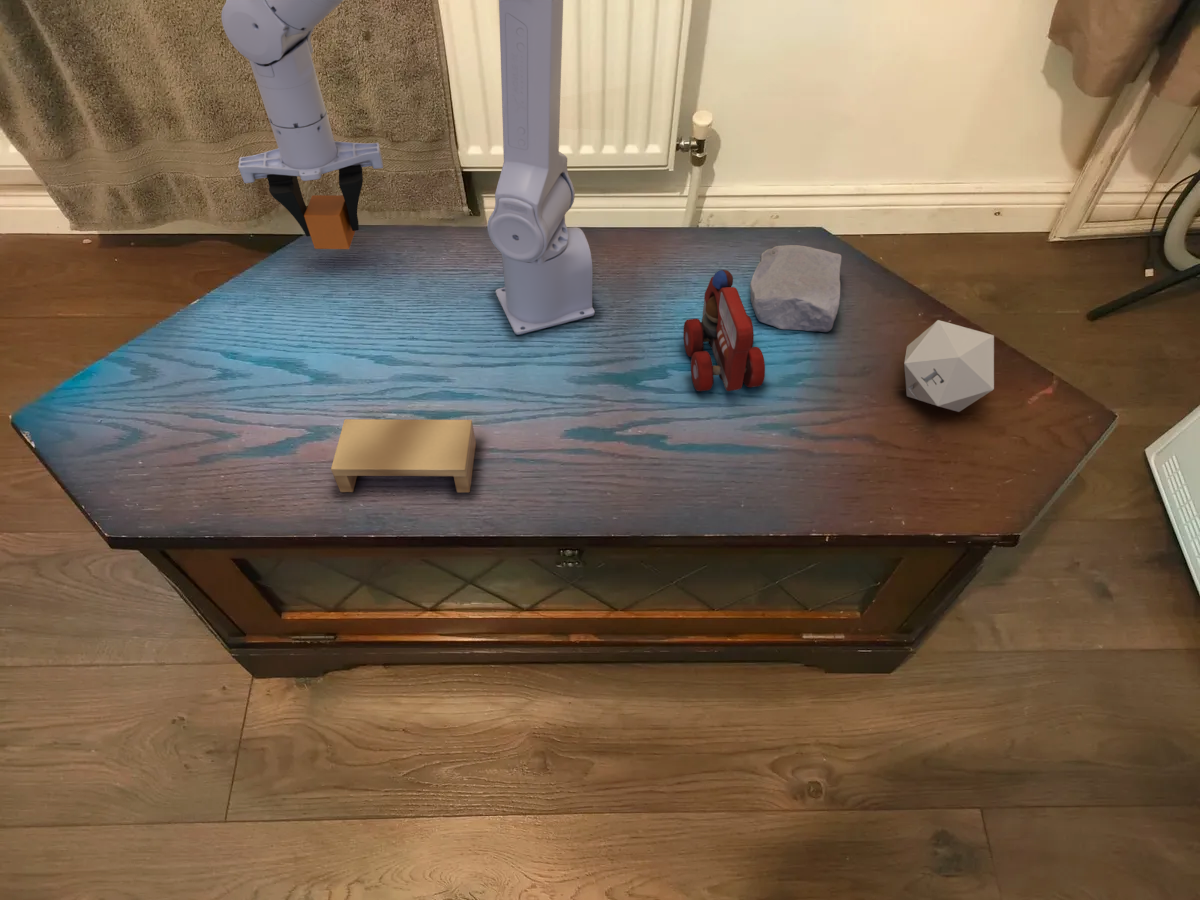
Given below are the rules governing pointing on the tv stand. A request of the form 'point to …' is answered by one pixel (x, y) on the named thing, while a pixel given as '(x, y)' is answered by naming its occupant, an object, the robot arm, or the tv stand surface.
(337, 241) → the orange cube
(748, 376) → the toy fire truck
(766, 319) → the stone block
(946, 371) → the die
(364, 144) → the robot arm
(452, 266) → the tv stand surface
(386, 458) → the shelf
